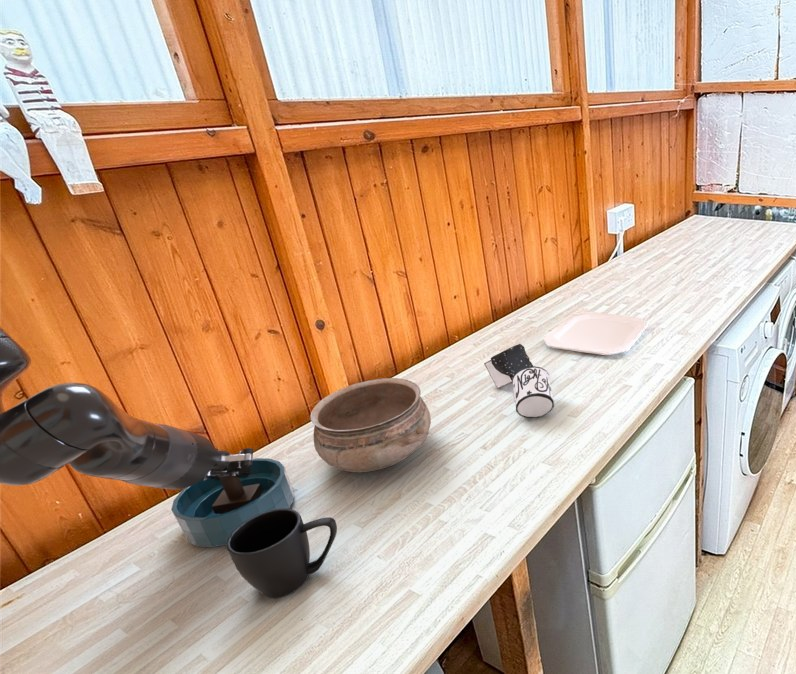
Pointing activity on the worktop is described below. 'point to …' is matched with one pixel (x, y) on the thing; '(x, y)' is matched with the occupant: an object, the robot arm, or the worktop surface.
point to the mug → (276, 550)
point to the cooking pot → (370, 424)
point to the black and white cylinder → (522, 381)
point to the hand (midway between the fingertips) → (236, 472)
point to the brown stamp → (235, 495)
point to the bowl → (216, 528)
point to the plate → (596, 333)
